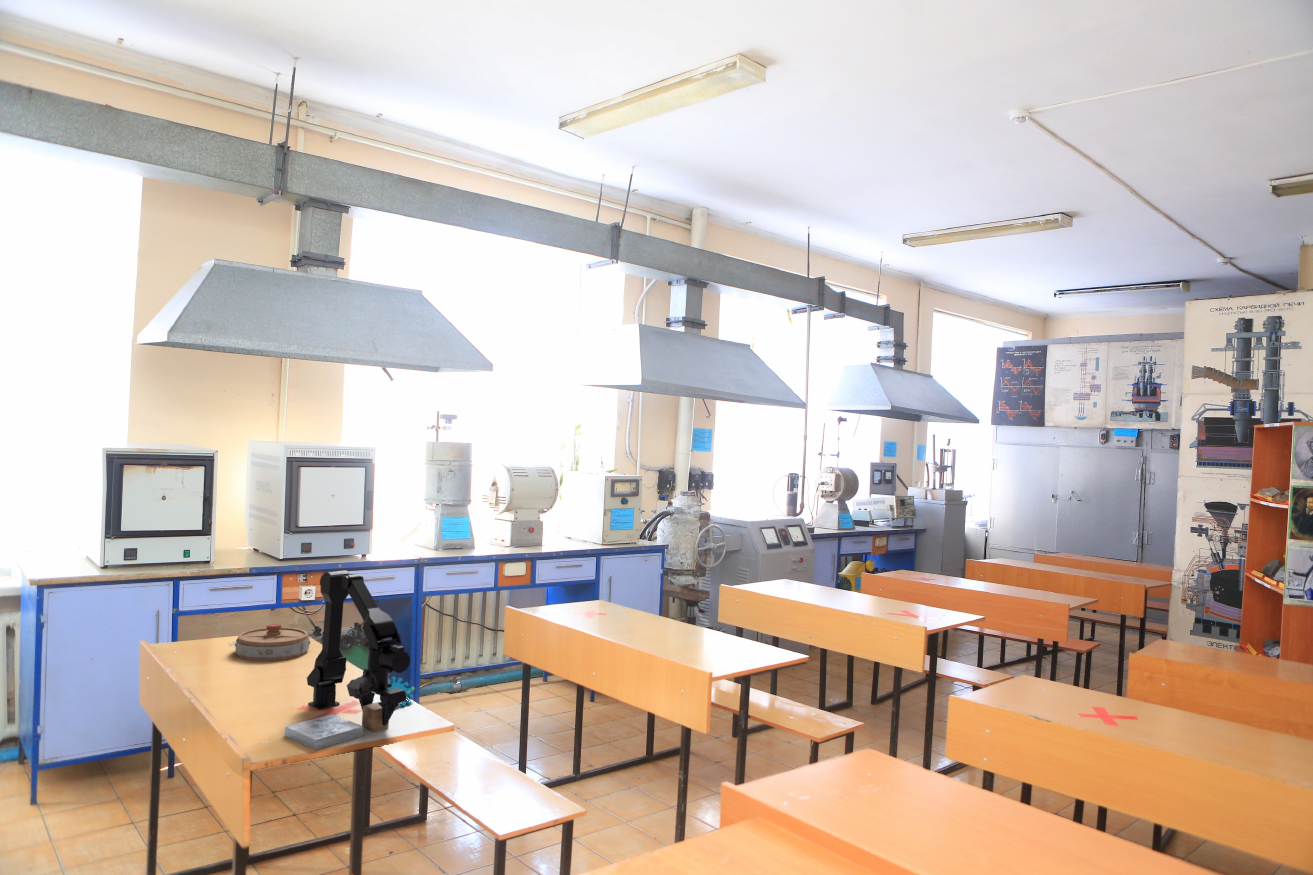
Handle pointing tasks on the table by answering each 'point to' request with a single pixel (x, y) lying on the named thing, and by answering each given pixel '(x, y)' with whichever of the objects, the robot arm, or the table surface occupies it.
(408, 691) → the blue spiky blob
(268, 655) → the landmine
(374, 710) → the walnut block
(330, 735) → the base plate
